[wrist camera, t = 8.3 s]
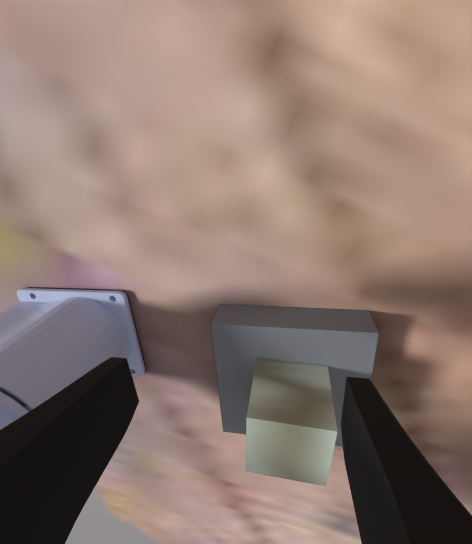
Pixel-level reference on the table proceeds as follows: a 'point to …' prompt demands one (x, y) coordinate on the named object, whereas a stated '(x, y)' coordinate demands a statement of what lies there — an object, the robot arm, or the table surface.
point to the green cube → (290, 421)
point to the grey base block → (288, 350)
